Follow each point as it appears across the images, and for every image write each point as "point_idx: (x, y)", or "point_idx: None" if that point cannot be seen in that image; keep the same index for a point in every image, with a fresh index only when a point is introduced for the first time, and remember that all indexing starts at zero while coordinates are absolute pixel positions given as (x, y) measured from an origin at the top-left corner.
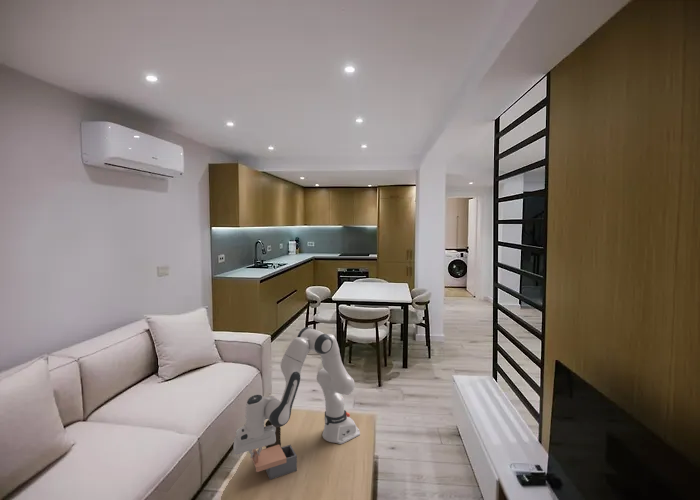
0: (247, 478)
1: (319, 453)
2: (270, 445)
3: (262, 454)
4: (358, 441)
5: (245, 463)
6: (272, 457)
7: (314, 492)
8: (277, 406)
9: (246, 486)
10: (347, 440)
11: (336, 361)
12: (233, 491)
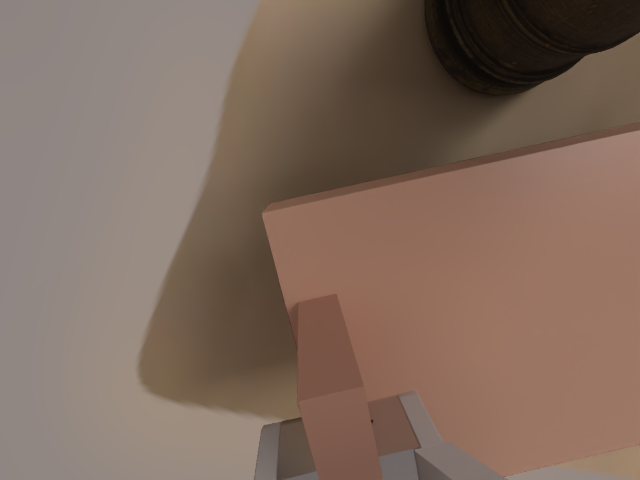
0: (258, 278)
1: None
2: (585, 2)
3: (449, 298)
4: None
5: (230, 80)
6: (567, 388)
7: (636, 467)
8: None
9: (255, 353)
10: None
11: None
12: (167, 378)
